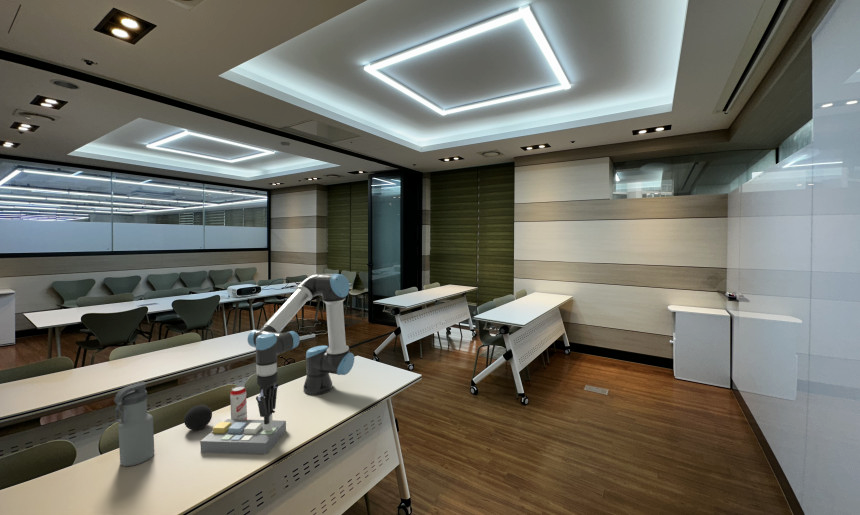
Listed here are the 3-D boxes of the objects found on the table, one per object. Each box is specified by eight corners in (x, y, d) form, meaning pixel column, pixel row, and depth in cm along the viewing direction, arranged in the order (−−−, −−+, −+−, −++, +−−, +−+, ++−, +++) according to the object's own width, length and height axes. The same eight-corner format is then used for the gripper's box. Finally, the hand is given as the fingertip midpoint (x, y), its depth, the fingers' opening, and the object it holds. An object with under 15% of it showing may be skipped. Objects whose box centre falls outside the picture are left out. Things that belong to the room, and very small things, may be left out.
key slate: (235, 427, 140) (235, 422, 140) (246, 428, 140) (246, 422, 140) (228, 434, 135) (228, 428, 135) (239, 434, 135) (239, 428, 135)
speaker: (203, 420, 154) (203, 398, 153) (217, 425, 149) (216, 403, 149) (179, 431, 145) (178, 408, 144) (193, 437, 140) (192, 414, 140)
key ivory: (250, 428, 140) (250, 422, 140) (261, 428, 139) (261, 422, 139) (244, 434, 135) (244, 428, 135) (255, 434, 135) (255, 429, 135)
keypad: (227, 429, 146) (227, 418, 146) (286, 430, 145) (285, 420, 145) (200, 452, 130) (200, 440, 130) (266, 454, 129) (265, 442, 129)
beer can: (250, 420, 153) (249, 386, 152) (238, 428, 147) (237, 392, 146) (239, 418, 155) (238, 384, 154) (227, 425, 149) (226, 390, 148)
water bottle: (124, 471, 120) (120, 394, 118) (114, 462, 125) (110, 387, 123) (159, 456, 128) (155, 383, 127) (148, 447, 133) (145, 378, 132)
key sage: (266, 432, 139) (266, 427, 139) (277, 433, 139) (277, 427, 139) (260, 439, 135) (260, 433, 135) (271, 439, 135) (271, 434, 135)
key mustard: (220, 427, 140) (220, 421, 140) (231, 427, 140) (231, 422, 140) (213, 433, 136) (212, 427, 136) (224, 434, 136) (223, 428, 135)
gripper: (266, 366, 142) (268, 421, 144) (248, 379, 129) (250, 439, 131) (284, 367, 142) (285, 421, 143) (267, 379, 129) (269, 439, 130)
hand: (268, 430), depth 137 cm, fingers closed
